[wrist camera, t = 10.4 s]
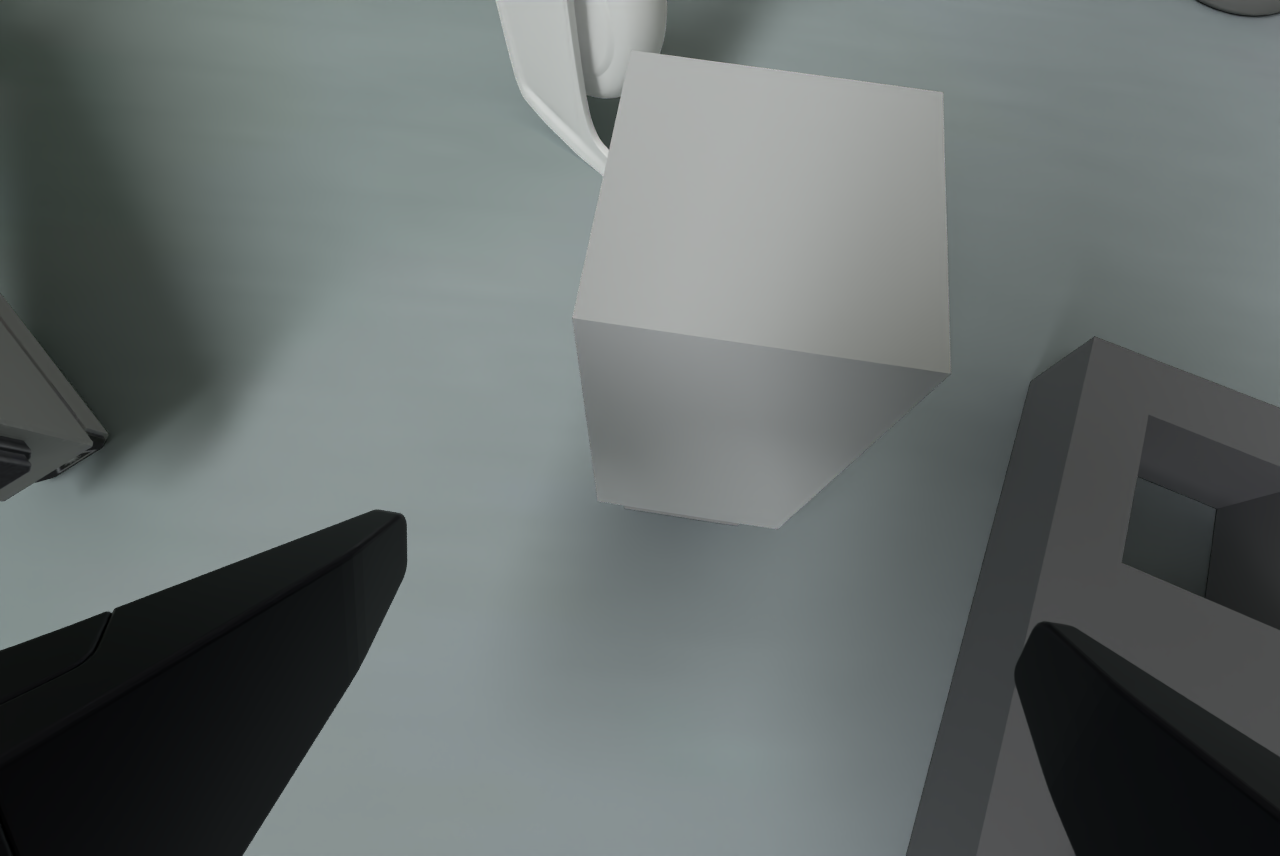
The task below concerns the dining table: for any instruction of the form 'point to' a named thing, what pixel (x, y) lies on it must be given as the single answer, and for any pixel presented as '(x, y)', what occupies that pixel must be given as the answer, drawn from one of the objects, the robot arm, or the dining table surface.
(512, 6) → the headset
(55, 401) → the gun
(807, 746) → the dining table surface
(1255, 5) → the travel mug
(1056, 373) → the power strip
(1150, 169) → the dining table surface
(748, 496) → the plain gray block
